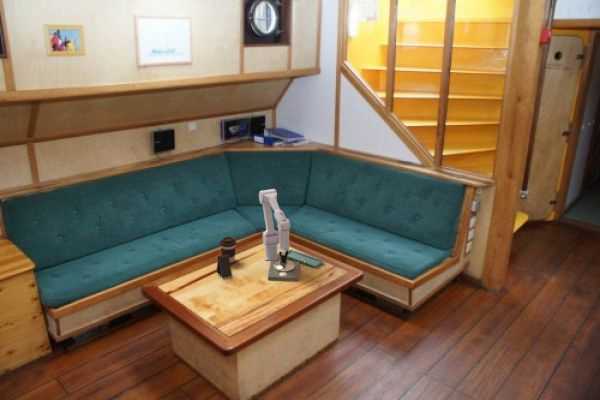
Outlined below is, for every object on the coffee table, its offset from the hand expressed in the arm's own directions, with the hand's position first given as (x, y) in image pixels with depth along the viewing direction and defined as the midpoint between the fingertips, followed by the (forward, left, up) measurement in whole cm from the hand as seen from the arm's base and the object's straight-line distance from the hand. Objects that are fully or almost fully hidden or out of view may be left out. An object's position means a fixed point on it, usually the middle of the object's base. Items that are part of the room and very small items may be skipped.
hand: (284, 260), depth 291 cm
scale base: (+3, 0, -6) cm, 7 cm away
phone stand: (+7, -35, -6) cm, 36 cm away
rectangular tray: (-13, +11, -7) cm, 19 cm away
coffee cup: (-9, -35, -6) cm, 37 cm away
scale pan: (0, 0, -4) cm, 4 cm away
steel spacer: (0, 0, -2) cm, 2 cm away
